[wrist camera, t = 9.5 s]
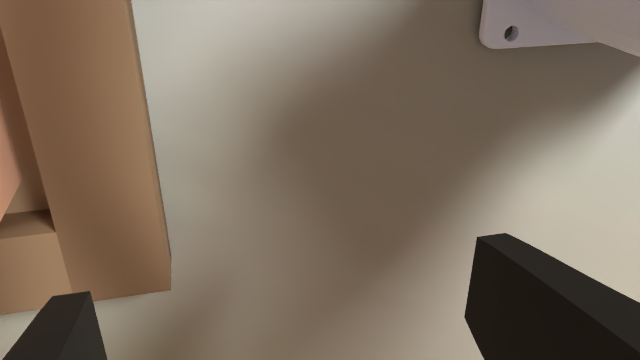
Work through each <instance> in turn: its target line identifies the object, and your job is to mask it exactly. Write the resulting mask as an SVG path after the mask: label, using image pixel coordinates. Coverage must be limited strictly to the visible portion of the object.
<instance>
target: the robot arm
mask: <svg viewBox="0 0 640 360" xmlns="http://www.w3.org/2000/svg"><path fill="white" fill-rule="evenodd" d="M510 26H512V28H513V31H512V33H511V35H510V36H509V37H508V38H505V37H504V33H505V31H506V29H507V28H508V27H510ZM479 39H480V41H481V43H482V44H483V45H485V46H486V47H488V48H491V49H504V48H519V47H534V46H548V45H563V44H578V43H593V42H600V43H603V44H606V45H608V46H611V47H614V48H616V49H619V50H621V51H624V52H627V53H629V54H632V55H635V56H637V57H640V0H483V7H482V15H481V22H480V30H479ZM465 319H466V322H467V324H468V326H469V328H470V330H471V333H472V335H473V337H474V339H475V342H476V344H477V346H478V348H479V350H480V352H481V354H482V356H483V358H484V360H640V303H639V302H637V301H635V300H633V299H631V298H629V297H627V296H625V295H623V294H621V293H619V292H617V291H615V290H613V289H611V288H610V287H608V286H606V285H604V284H602V283H600V282H598V281H596V280H594V279H592V278H591V277H589V276H587V275H585V274H583V273H581V272H579V271H578V270H576V269H574V268H572V267H570V266H568V265H566V264H565V263H563V262H561V261H559V260H557V259H555V258H554V257H552V256H550V255H548V254H546V253H544V252H542V251H541V250H539V249H537V248H535V247H533V246H531V245H529V244H527V243H525V242H523V241H521V240H519V239H517V238H515V237H513V236H511V235H509V234H506V233H503V234H495V235H488V236H481V237H477V241H476V247H475V253H474V260H473V266H472V272H471V279H470V285H469V292H468V298H467V304H466V311H465ZM3 360H107V356H106V352H105V348H104V344H103V340H102V336H101V332H100V328H99V324H98V320H97V316H96V312H95V308H94V304H93V300H92V296H91V292H90V291H85V292H78V293H71V294H64V295H57V296H52V297H51V298H50V299H49V300H48V302H47V303H46V304H45V305H44V307H43V308H42V309H41V310H40V312H39V313H38V314H37V316H36V317H35V318H34V319H33V321H32V322H31V323H30V325H29V326H28V327H27V329H26V330H25V331H24V333H23V334H22V335H21V336H20V338H19V339H18V340H17V342H16V343H15V344H14V345H13V347H12V348H11V349H10V351H9V352H8V353H7V354H6V356H5V357H4V358H3Z"/></svg>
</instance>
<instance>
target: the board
mask: <svg viewBox="0 0 640 360" xmlns="http://www.w3.org/2000/svg"><path fill="white" fill-rule="evenodd" d="M0 100H1V104H2V107H3V111H4V114H5V117H6V121H7V124H8V128H9V131H10V134H11V138H12V141H13V145H14V148H15V152H16V155H17V158H18V162H19V165H20V169H21V172H22V175H23V179H22V181H21V182H20V184H19V186H18V188H17V190H16V192H15V194H14V196H13V198H12V200H11V202H10V204H9V206H8V208H7V210H6V212H5V214H4V216H3V218H2V220H1V221H0V314H7V313H14V312H21V311H28V310H35V309H42V308H43V307H44V305H45V304H46V303H47V302H48V300H49V299H50V298H51V297H52V296H57V295H64V294H71V293H78V292H85V291H90V292H91V296H92V300H93V301H98V300H105V299H112V298H119V297H126V296H133V295H140V294H147V293H154V292H161V291H168V290H171V252H170V245H169V239H168V233H167V226H166V220H165V214H164V207H163V201H162V195H161V188H160V182H159V176H158V169H157V163H156V156H155V150H154V144H153V137H152V131H151V125H150V118H149V112H148V106H147V99H146V93H145V87H144V80H143V74H142V68H141V61H140V55H139V49H138V42H137V36H136V29H135V23H134V17H133V10H132V4H131V0H0Z"/></svg>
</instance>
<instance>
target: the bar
mask: <svg viewBox="0 0 640 360" xmlns="http://www.w3.org/2000/svg"><path fill="white" fill-rule="evenodd" d="M22 179H23V175H22V172H21V169H20V165H19V162H18V158H17V155H16V152H15V148H14V145H13V141H12V138H11V134H10V131H9V128H8V124H7V121H6V117H5V114H4V111H3V107H2V104H1V100H0V221H1V220H2V218H3V216H4V214H5V212H6V210H7V208H8V206H9V204H10V202H11V200H12V198H13V196H14V194H15V192H16V190H17V188H18V186H19V184H20V182H21V181H22Z"/></svg>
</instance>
